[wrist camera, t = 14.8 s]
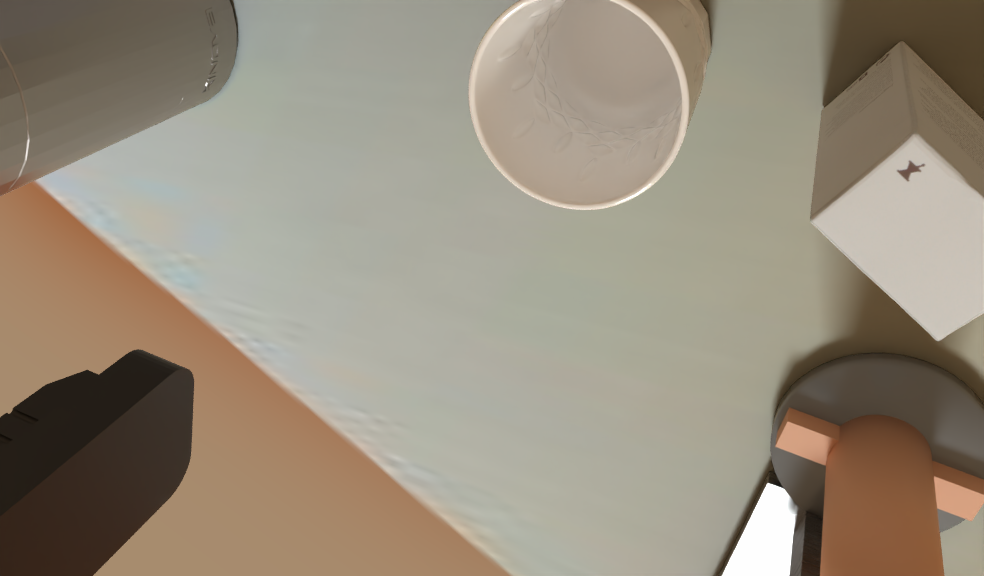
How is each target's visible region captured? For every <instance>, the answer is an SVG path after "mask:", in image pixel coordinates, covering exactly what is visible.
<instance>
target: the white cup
mask: <svg viewBox="0 0 984 576" xmlns="http://www.w3.org/2000/svg"><path fill="white" fill-rule="evenodd" d="M710 54H711V40H710V29H709V19H708V13H707V12H706V10H705V9H704V7H703V5H702V4H701V2H700V0H519V1H518V2H516V3H515V4H513V5H512V6H510V7H509V8H508V9H507V10H505V11H504V12H503V13H502V14H501V15H500V16H499V17H498V18H497V19H496V20H495V21H494V23H493V24H492V25H491V26H490V28H489V29H488V30H487V32H486V33H485V35H484V37H483V38H482V40H481V42H480V44H479V46H478V48H477V51H476V53H475V56H474V59H473V63H472V67H471V71H470V77H469V107H470V113H471V118H472V122H473V125H474V129H475V131H476V134H477V137H478V139H479V141H480V143H481V145H482V147H483V149H484V151H485V152H486V154H487V156H488V157H489V159H490V160H491V161H492V163H493V164H494V165H495V167H496V168H497V169H498V170H499V171H500V172H501V173H502V174H503V175H504V176H505V177H506V178H507V179H508V180H509V181H510V182H511V183H512V184H514V185H515V186H516V187H518V188H519V189H520V190H522V191H523V192H525V193H527V194H528V195H530V196H532V197H534V198H536V199H538V200H540V201H543V202H545V203H548V204H551V205H554V206H558V207H562V208H568V209H577V210H593V209H602V208H607V207H611V206H615V205H618V204H621V203H624V202H626V201H628V200H630V199H632V198H634V197H636V196H638V195H640V194H641V193H643V192H644V191H646V190H647V189H648V188H650V187H651V186H652V185H653V184H654V183H656V182H657V181H658V180H659V179H660V178H661V177H662V175H663V174H664V173H665V172H666V171H667V169H668V168H669V167H670V165H671V164H672V162H673V161H674V159H675V157H676V156H677V154H678V152H679V150H680V147H681V145H682V142H683V140H684V137H685V134H686V131H687V129H688V126H689V123H690V121H691V118H692V115H693V113H694V110H695V107H696V104H697V101H698V99H699V97H700V93H701V90H702V86H703V82H704V79H705V74H706V67H707V62H708V59H709V56H710Z"/></svg>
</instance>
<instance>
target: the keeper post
mask: <svg viewBox="0 0 984 576" xmlns="http://www.w3.org/2000/svg"><path fill="white" fill-rule="evenodd" d="M822 529H823V517H821V516H818V515H816V514H813V513H811V512H808V511H804V510H803V509H802V508H801V507H800V506H799V505H798V504H796V503H795V502H794V501H793V499H792V498H791V497H790V496H789V495H788V494H787V492H786V491H785V489H784V488H783V486H782V485H781V483H780V481H779V479H778V477H777V475H776V473H773V472H769V474H768V476H767V478H766V480H765V482H764V484H763V486H762V488H761V490H760V492H759V494H758V496H757V498H756V500H755V502H754V504H753V506H752V508H751V510H750V512H749V514H748V516H747V518H746V521H745V523H744V525H743V527H742V529H741V531H740V533H739V535H738V537H737V539H736V541H735V543H734V545H733V547H732V549H731V551H730V553H729V555H728V557H727V559H726V561H725V563H724V565H723V567H722V569H721V572H720V574H719V576H820V565H821V547H822Z"/></svg>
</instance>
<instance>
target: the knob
mask: <svg viewBox="0 0 984 576" xmlns="http://www.w3.org/2000/svg"><path fill="white" fill-rule="evenodd" d="M775 447H778V448H780V449H783V450H785V451H788V452H791V453H793V454H796V455H799V456H801V457H804V458H806V459H809V460H812V461H814V462H817V463H820V464H822V465H825V466H826V475H825V493H824V511H823V529H822V547H821V565H820V576H944V568H943V559H942V549H941V540H940V530H939V521H938V511H937V508H938V509H940V510H943V511H946V512H948V513H951V514H954V515H956V516H959V517H961V518H964V519H967V520H969V521H972V520H973V518H974V517H975V515H976V514H977V512H978V511H979V509H980V508H981V506H982V505H983V503H984V480H983V479H981V478H978V477H975V476H973V475H970V474H967V473H965V472H962V471H959V470H957V469H954V468H951V467H948V466H946V465H943V464H940V463H938V462H935V461H932V454H931V449H930V446H929V444H928V442H927V440H926V439H925V437H924V436H923V435H922V434H921V433H920V432H919V431H918V430H917V429H916V428H915V427H913V426H912V425H910V424H909V423H907V422H905V421H903V420H900V419H898V418H894V417H891V416H886V415H865V416H860V417H857V418H854V419H851V420H849V421H847V422H845V423H844V424H842V425H841V426H838V425H835V424H833V423H830V422H827V421H825V420H822V419H819V418H817V417H814V416H811V415H808V414H806V413H803V412H800V411H798V410H795V409H792V408H790V407H789V409H788V411H787V413H786V415H785V417H784V419H783V421H782V424H781V426H780V428H779V430H778V432H777V438H776V445H775Z"/></svg>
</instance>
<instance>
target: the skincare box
mask: <svg viewBox="0 0 984 576" xmlns="http://www.w3.org/2000/svg"><path fill="white" fill-rule="evenodd" d="M810 221H811V223H812V224H813V225H814V226H815V227H816V228H817V229H818V230H819V231H820V232H821V233H822V234H823V235H824V236H825V237H827V238H828V239H829V240H830V241H831V242H832V243H833V244H834V245H835V246H836V247H837V248H838V249H839V250H840V251H841V252H842V253H843V254H844V255H845V256H846V257H847V258H848V259H849V260H850V261H852V262H853V263H854V264H855V265H856V266H857V267H858V268H859V269H860V270H861V271H862V272H863V273H864V274H866V275H867V276H868V277H869V278H870V279H871V280H872V281H873V282H874V283H875V284H877V285H878V286H879V287H880V288H881V289H882V290H883V291H884V292H885V293H886V294H888V295H889V296H890V297H891V298H892V299H893V300H894V301H895V302H896V303H897V304H898V305H899V306H900V307H901V308H902V309H904V310H905V311H906V312H907V313H908V314H909V315H910V316H911V317H912V318H913V319H914V320H915V321H916V322H917V323H919V324H920V325H921V326H922V327H923V328H924V329H925V330H926V331H927V332H928V333H929V334H930V335H931V336H932V337H933V338H934V339H935V340H936V341H940V340H942V339H943V338H945V337H946V336H947V335H949V334H951V333H952V332H954V331H955V330H957V329H959V328H960V327H962V326H964V325H965V324H967V323H968V322H970V321H972V320H973V319H975V318H977V317H978V316H980V315H981V314H983V313H984V120H983V119H982V118H981V117H980V116H979V115H978V114H977V113H976V112H975V111H974V110H972V109H971V108H970V107H969V106H968V105H967V104H966V103H965V102H964V101H963V100H962V99H961V98H960V97H959V96H958V95H957V94H956V93H955V92H954V91H953V90H952V89H951V88H950V87H949V86H948V85H947V84H946V83H945V82H944V81H943V80H942V79H941V78H940V77H939V76H938V75H937V74H936V73H935V72H934V71H933V70H932V69H931V68H930V67H929V66H928V65H927V64H926V63H925V62H924V61H923V60H922V59H921V58H920V57H919V56H918V55H917V54H916V53H915V52H914V51H913V50H912V49H911V48H910V47H909V46H908V45H907V44H906V43H905V42H904V41H900V42H899V43H898V44H897V45H895V46H894V47H893V48H892V49H891V50H890V51H889V52H887V53H886V54H885V55H884V56H883V57H882V58H881V59H879V60H878V61H877V62H876V63H875V64H874V65H872V66H871V67H870V68H869V69H868V70H867V71H865V72H864V73H863V74H862V75H861V76H860V77H859V78H858V79H857V80H856V81H854V82H853V83H852V84H851V85H850V86H849V87H848V88H847V89H845V90H844V91H843V92H842V93H841V94H840V95H839V96H837V97H836V98H835V99H834V100H833V101H832V102H831V103H829V104H828V105H827V106H826V107H825V108H824V109H823V110H822V112H821V122H820V131H819V140H818V149H817V158H816V168H815V176H814V185H813V196H812V205H811V215H810Z"/></svg>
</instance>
